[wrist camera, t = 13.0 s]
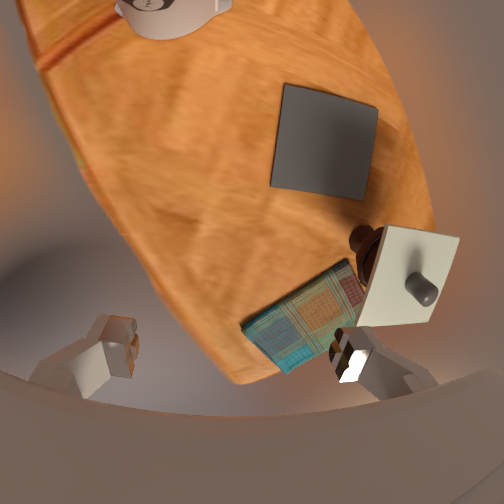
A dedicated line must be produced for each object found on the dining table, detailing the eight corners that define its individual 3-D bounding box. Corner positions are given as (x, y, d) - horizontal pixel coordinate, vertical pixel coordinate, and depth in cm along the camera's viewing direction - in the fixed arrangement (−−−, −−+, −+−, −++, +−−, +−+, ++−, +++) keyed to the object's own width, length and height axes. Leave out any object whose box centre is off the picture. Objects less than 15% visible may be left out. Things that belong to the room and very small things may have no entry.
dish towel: (237, 324, 52) (238, 332, 49) (344, 255, 48) (350, 261, 46) (282, 369, 58) (284, 378, 56) (373, 313, 55) (378, 320, 53)
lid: (385, 223, 30) (408, 238, 25) (456, 236, 32) (478, 249, 27) (353, 323, 35) (368, 346, 30) (425, 318, 37) (441, 336, 32)
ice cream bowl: (383, 202, 45) (438, 230, 31) (388, 257, 49) (434, 297, 35) (330, 219, 45) (375, 255, 31) (340, 275, 49) (378, 323, 36)
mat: (284, 85, 36) (285, 84, 35) (376, 109, 38) (378, 109, 37) (270, 186, 42) (270, 186, 41) (361, 200, 44) (363, 200, 43)
